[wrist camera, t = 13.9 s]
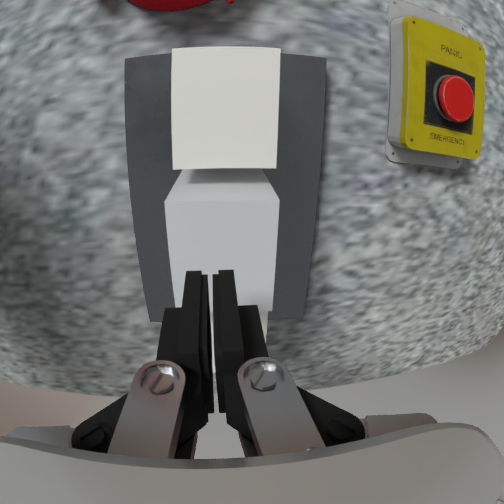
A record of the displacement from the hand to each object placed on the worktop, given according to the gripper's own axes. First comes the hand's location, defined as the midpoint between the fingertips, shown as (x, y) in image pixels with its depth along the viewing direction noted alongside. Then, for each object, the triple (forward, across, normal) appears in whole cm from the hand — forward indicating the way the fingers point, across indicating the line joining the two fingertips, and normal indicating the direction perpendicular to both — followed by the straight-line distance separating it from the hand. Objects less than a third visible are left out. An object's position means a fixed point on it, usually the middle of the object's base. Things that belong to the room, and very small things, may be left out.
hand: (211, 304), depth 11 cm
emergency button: (+15, -18, -10) cm, 26 cm away
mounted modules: (+12, -1, 0) cm, 12 cm away
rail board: (+14, -1, 0) cm, 14 cm away
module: (+12, -1, 0) cm, 12 cm away
